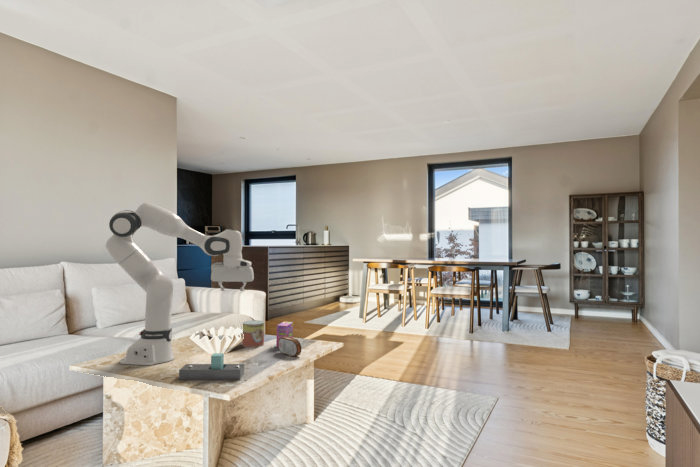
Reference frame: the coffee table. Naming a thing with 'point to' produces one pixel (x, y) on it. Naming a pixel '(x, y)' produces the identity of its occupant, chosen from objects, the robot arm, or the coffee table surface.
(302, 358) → the coffee table surface
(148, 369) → the coffee table surface
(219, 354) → the peg
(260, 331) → the canned food
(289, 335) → the box
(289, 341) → the tin
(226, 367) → the grey slotted base
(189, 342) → the coffee table surface
